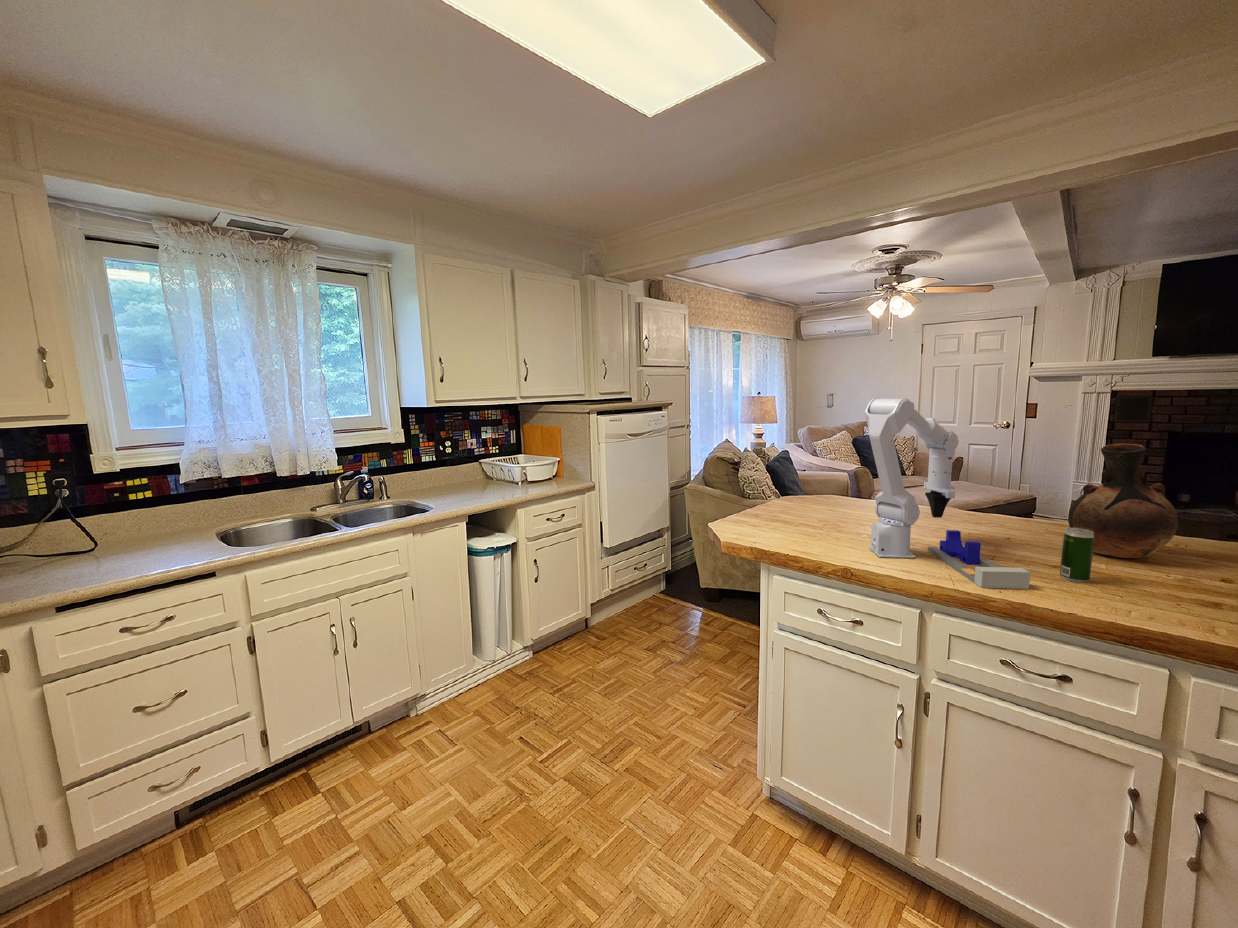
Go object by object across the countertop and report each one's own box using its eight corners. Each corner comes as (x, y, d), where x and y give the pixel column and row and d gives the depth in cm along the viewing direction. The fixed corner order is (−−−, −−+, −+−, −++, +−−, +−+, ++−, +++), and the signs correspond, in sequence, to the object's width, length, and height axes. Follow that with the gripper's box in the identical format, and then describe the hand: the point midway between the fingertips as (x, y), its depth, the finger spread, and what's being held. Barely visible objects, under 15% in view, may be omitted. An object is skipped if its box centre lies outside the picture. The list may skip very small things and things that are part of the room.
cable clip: (939, 550, 144) (940, 530, 143) (956, 550, 143) (958, 530, 142) (960, 564, 132) (961, 542, 131) (979, 565, 131) (980, 543, 131)
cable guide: (981, 587, 117) (982, 571, 116) (927, 550, 143) (928, 537, 143) (1028, 588, 116) (1030, 572, 115) (966, 551, 142) (967, 537, 141)
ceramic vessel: (1156, 551, 137) (1171, 442, 133) (1187, 572, 122) (1205, 450, 118) (1056, 541, 148) (1067, 440, 143) (1073, 560, 132) (1086, 447, 128)
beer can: (1078, 584, 117) (1083, 534, 115) (1053, 576, 122) (1058, 528, 121) (1095, 581, 118) (1101, 532, 117) (1070, 573, 124) (1075, 526, 122)
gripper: (968, 475, 139) (964, 523, 141) (942, 467, 153) (939, 510, 155) (940, 476, 140) (937, 523, 142) (917, 467, 154) (915, 510, 156)
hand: (936, 517), depth 148 cm, fingers closed
